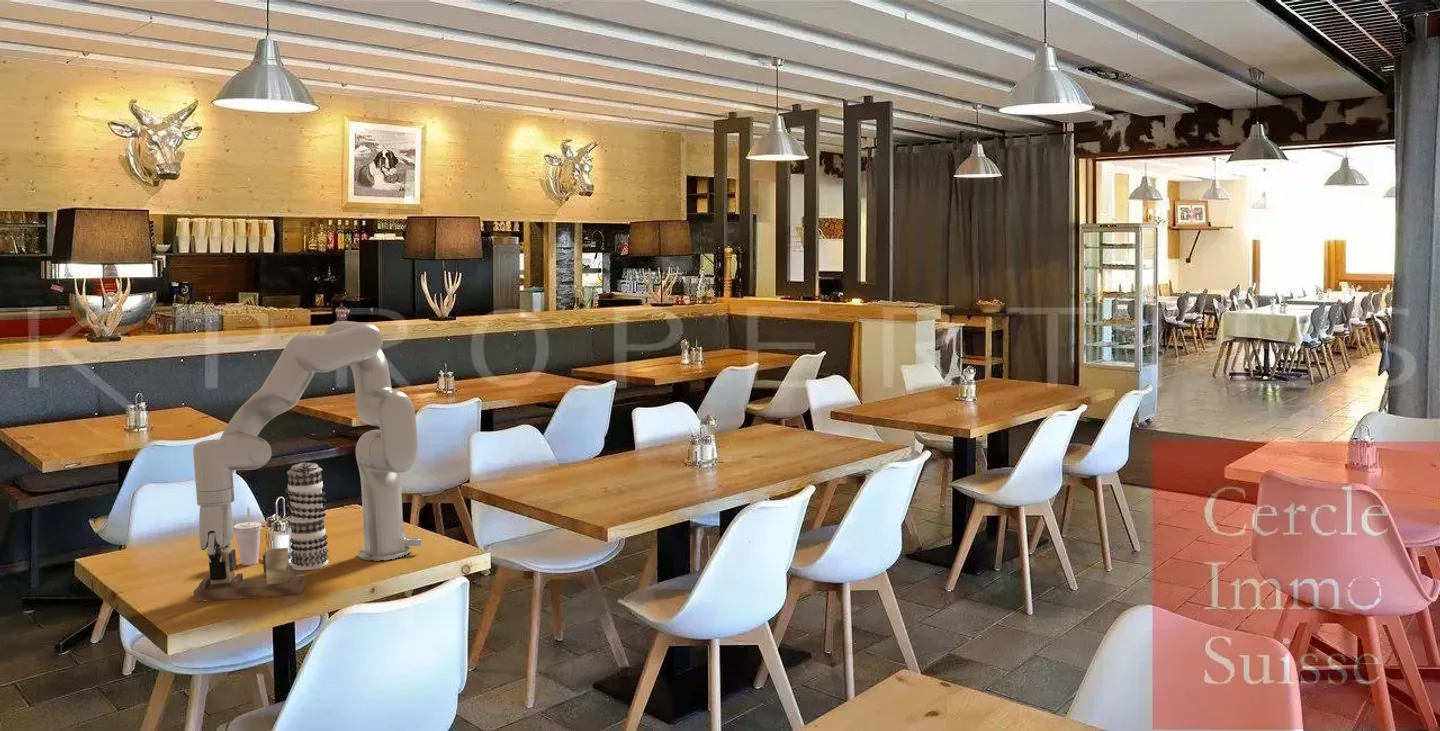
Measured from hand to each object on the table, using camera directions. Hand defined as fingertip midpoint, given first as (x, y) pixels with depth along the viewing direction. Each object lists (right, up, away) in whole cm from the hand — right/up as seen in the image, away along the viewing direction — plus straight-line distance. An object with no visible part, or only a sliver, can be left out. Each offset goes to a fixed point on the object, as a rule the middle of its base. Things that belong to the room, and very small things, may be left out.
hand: (221, 575), depth 237 cm
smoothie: (-5, -2, +25) cm, 25 cm away
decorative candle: (+11, -2, +23) cm, 25 cm away
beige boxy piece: (0, -1, 0) cm, 1 cm away
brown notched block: (+6, -5, +2) cm, 8 cm away
